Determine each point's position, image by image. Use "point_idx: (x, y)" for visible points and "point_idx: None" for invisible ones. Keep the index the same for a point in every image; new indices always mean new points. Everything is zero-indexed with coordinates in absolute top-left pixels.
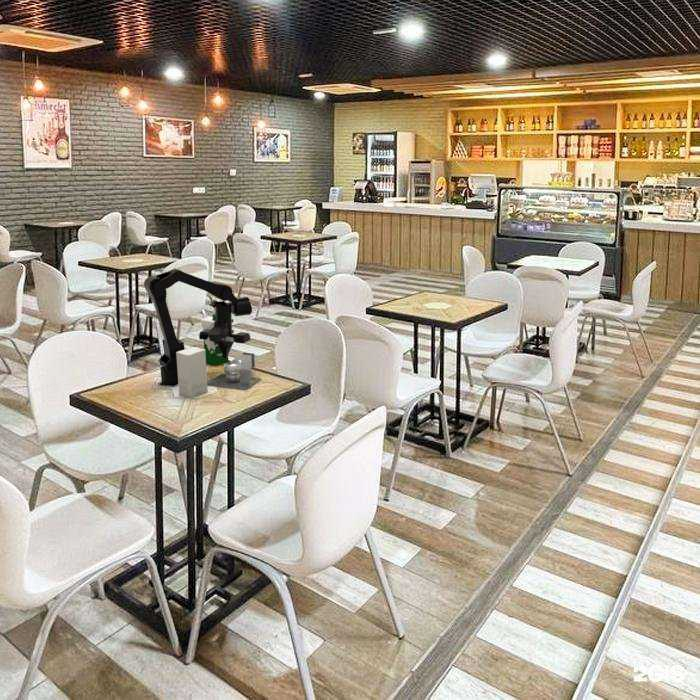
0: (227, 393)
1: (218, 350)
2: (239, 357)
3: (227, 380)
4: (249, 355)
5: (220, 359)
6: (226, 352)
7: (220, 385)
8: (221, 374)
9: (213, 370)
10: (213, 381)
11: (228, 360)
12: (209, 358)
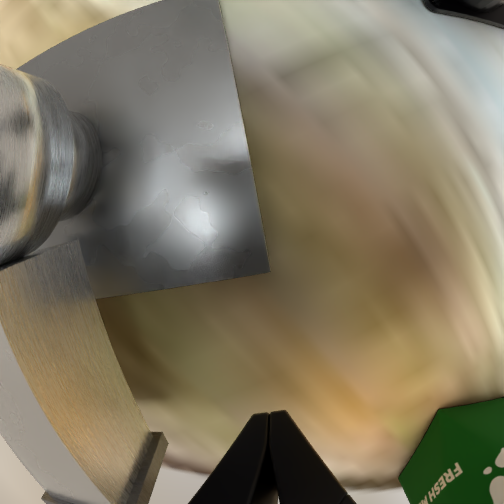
0: (17, 14)
1: (464, 496)
2: (31, 416)
3: (70, 110)
4: (43, 481)
5: (433, 459)
6: (205, 482)
7: (87, 33)
8: (254, 245)
9: (421, 345)
10: (177, 40)
11: (401, 484)
12: (496, 422)
